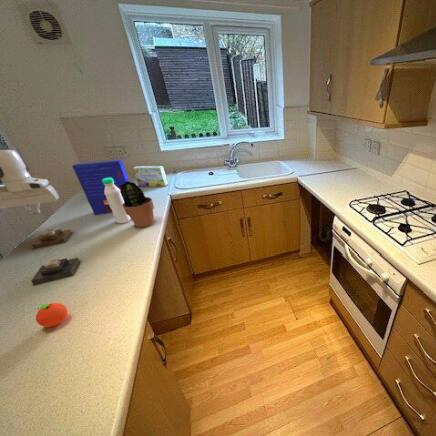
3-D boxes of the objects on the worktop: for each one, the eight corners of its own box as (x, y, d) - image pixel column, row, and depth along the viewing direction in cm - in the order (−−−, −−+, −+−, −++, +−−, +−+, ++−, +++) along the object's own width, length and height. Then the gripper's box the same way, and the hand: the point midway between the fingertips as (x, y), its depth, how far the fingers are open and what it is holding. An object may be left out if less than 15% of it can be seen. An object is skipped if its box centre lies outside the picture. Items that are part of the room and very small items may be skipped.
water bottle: (117, 225, 131) (99, 181, 119) (115, 220, 136) (98, 178, 124) (132, 221, 135) (115, 178, 123) (130, 216, 140) (114, 175, 128)
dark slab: (33, 285, 91) (28, 277, 89) (44, 269, 99) (39, 261, 97) (73, 275, 95) (68, 267, 93) (80, 261, 103) (76, 254, 101)
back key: (44, 237, 115) (42, 233, 114) (47, 233, 118) (45, 230, 117) (53, 235, 116) (51, 232, 115) (56, 231, 119) (54, 228, 118)
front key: (46, 269, 93) (44, 266, 92) (50, 264, 96) (48, 260, 95) (58, 266, 94) (56, 263, 94) (61, 261, 97) (59, 258, 96)
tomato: (33, 329, 73) (20, 313, 70) (57, 311, 79) (46, 295, 76) (55, 333, 72) (42, 317, 69) (77, 314, 78) (66, 298, 75)
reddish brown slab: (33, 248, 112) (29, 241, 110) (42, 238, 120) (38, 231, 119) (65, 242, 117) (61, 235, 115) (72, 232, 125) (68, 226, 123)
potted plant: (163, 221, 134) (150, 178, 122) (139, 232, 124) (121, 187, 112) (150, 215, 140) (136, 174, 129) (126, 225, 130) (108, 182, 119)
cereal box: (137, 205, 154) (121, 158, 140) (136, 208, 149) (118, 161, 135) (97, 211, 148) (76, 163, 134) (94, 215, 143) (72, 165, 129)
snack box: (138, 186, 185) (131, 167, 178) (142, 184, 190) (136, 165, 183) (165, 186, 184) (159, 167, 177) (168, 184, 189) (163, 165, 182)
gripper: (-18, 190, 98) (2, 220, 104) (46, 183, 106) (61, 211, 112) (-9, 186, 103) (9, 214, 109) (52, 179, 111) (65, 206, 117)
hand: (36, 213), depth 111 cm, fingers closed
